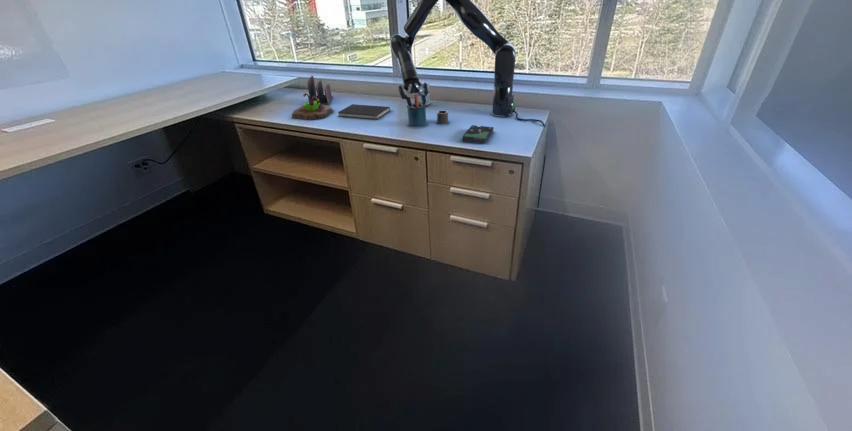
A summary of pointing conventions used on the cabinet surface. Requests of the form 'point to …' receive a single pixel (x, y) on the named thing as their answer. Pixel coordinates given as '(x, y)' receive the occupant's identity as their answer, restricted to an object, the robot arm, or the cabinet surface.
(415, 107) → the tumbler lid
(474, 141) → the disk drive
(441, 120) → the straw holder
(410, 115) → the tumbler
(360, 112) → the hardcover book
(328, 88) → the letter holder
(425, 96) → the ink box
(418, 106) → the straw
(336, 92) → the cabinet surface
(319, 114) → the plant
